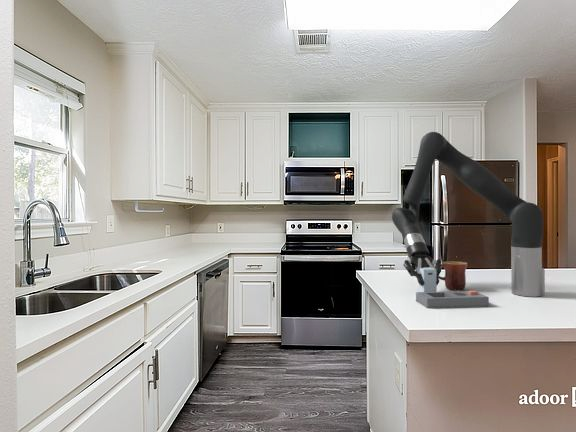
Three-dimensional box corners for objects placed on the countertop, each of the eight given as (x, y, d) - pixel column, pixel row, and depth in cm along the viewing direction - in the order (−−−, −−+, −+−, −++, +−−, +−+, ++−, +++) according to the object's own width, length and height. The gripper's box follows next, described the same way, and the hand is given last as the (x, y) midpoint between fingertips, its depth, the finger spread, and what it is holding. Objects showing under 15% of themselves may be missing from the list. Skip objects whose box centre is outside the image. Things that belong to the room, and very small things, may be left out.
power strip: (473, 299, 124) (472, 288, 124) (488, 306, 115) (488, 294, 115) (416, 301, 123) (415, 289, 123) (427, 308, 114) (427, 296, 114)
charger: (431, 294, 132) (430, 267, 132) (436, 297, 127) (436, 269, 127) (419, 294, 132) (418, 267, 132) (424, 297, 127) (424, 269, 127)
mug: (466, 287, 143) (466, 261, 143) (468, 292, 135) (468, 264, 135) (434, 285, 147) (433, 260, 147) (434, 290, 139) (434, 263, 139)
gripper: (400, 241, 137) (413, 279, 125) (437, 240, 137) (453, 278, 125) (395, 253, 142) (407, 290, 130) (431, 253, 142) (446, 289, 130)
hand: (429, 284), depth 128 cm, fingers closed on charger, 4 cm apart
